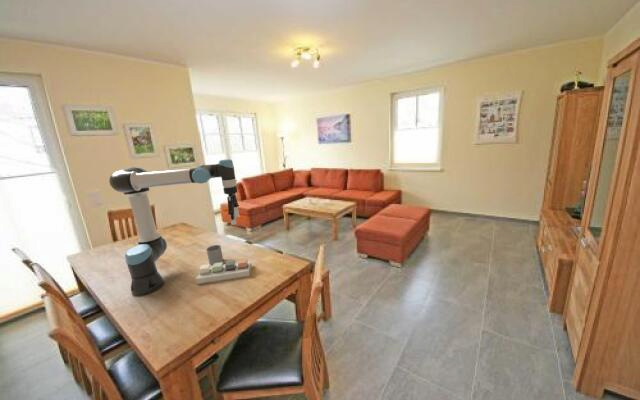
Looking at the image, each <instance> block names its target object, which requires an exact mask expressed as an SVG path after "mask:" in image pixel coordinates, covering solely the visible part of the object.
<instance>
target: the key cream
mask: <svg viewBox="0 0 640 400" xmlns="http://www.w3.org/2000/svg"><path fill="white" fill-rule="evenodd" d="M211 266H212V265H210V264H209V263H208V264H207V263H205V264H201V265H200V266H199V269H198V270H199V273H201V275H206V274H209V273H210V268H211Z"/></svg>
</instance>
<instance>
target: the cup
mask: <svg viewBox="0 0 640 400" xmlns="http://www.w3.org/2000/svg"><path fill="white" fill-rule="evenodd" d="M206 254H207V260H208V264H210V266H213V264H214V263H220V262H223V263H224V257H223V251H222V246H221V245H218V244H214V245H211V246H208V247H206Z"/></svg>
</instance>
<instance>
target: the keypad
mask: <svg viewBox="0 0 640 400" xmlns="http://www.w3.org/2000/svg"><path fill="white" fill-rule="evenodd" d="M235 263H236V264H235V270H232V271H227V269H226V268H225V264H226V263H225V264H224V263H223V270H222V272H219V273H214V271H213V270H212V267H213V265H210V266H211V268H210V273H209V274H206V275H201V273H200V272H199V273H198V274H197V276H196V279H195V280H196V284H197V285H202V284H204V285H205V284H208V283H215V282H221V281H227V280H233V279H234V280H235V279H241V278H248V277H250V275H251V269H252V261H251V260H248V264H247V268H245V269H239V267H238V262H235Z"/></svg>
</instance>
